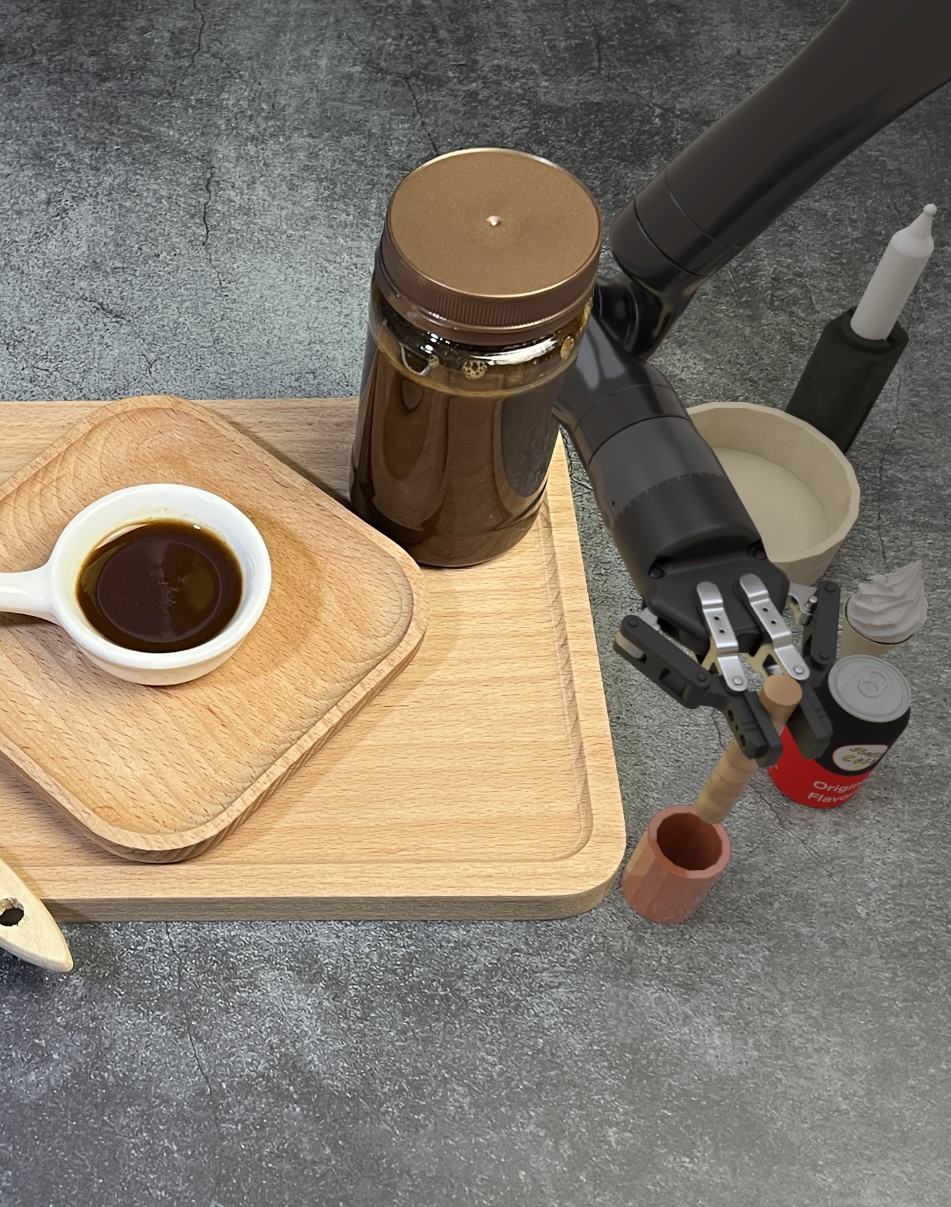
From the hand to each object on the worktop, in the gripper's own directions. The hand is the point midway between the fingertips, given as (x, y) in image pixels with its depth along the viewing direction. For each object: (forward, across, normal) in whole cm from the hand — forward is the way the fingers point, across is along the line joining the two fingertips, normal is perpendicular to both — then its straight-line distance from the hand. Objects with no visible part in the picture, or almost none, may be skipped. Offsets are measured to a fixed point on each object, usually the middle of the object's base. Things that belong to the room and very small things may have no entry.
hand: (795, 754), depth 77 cm
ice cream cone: (-17, +20, +25) cm, 36 cm away
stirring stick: (-3, 0, +12) cm, 12 cm away
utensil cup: (-3, 0, +24) cm, 25 cm away
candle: (-39, +28, +24) cm, 54 cm away
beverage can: (-10, +14, +25) cm, 30 cm away
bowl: (-33, +18, +24) cm, 44 cm away
